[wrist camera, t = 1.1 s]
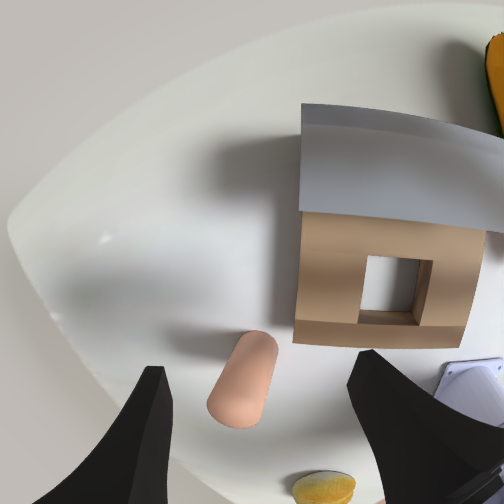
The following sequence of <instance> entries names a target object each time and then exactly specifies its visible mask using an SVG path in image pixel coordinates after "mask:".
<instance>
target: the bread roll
mask: <svg viewBox="0 0 504 504" xmlns="http://www.w3.org/2000/svg"><path fill="white" fill-rule="evenodd" d="M355 485H356V482H355V479H354V478H353V477H352V476H349V475H347V474H343V473H338V472H333V471H324V472H317V473H313V474H310V475H307V476H305V477H302V478H300V479H298V480H297V481H296V482H295V484H294V485H293V488H292V494H293V497H294V500H295V502H296V503H297V504H347V503H348V502H349V501H350V500H351V499H352V496H353V489H354V488H355Z"/></svg>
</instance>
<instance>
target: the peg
mask: <svg viewBox="0 0 504 504" xmlns="http://www.w3.org/2000/svg"><path fill="white" fill-rule="evenodd" d="M277 355H278V345H277V343H276V341H275V340H274V338H273V337H272V336H270V335H269V334H267V333H265V332H262V331H250V332H247V333H245V334H243V335H242V336H241V337H240V339H239V340H238V342H237V344H236V346H235V348H234V350H233V352H232V354H231V356H230V358H229V360H228V362H227V364H226V365H225V367H224V369H223V371H222V373H221V375H220V377H219V379H218V381H217V383H216V384H215V386H214V388H213V390H212V392H211V394H210V396H209V398H208V400H207V409H208V411H209V413H210V414H211V416H212V417H213V418H214V419H215V420H217V421H218V422H220V423H221V424H223V425H226V426H228V427H232V428H239V429H244V428H249V427H252V426H254V425H256V424H257V423H258V422H259V420H260V418H261V415H262V412H263V408H264V404H265V401H266V397H267V393H268V390H269V386H270V382H271V379H272V375H273V371H274V367H275V363H276V359H277Z"/></svg>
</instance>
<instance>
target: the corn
mask: <svg viewBox="0 0 504 504" xmlns="http://www.w3.org/2000/svg"><path fill="white" fill-rule="evenodd" d="M484 66H485V72H486V80H487V86H488V90H489V94H490V98H491V103H492V107H493V112H494V117H495V122H496V127H497V132H498V136H499V138H501V139H504V33H502V32H501V34H498V35H496V36H493V37H492V39H491V40H490V42H489V43H488V45H487V46H486V51H485V63H484Z"/></svg>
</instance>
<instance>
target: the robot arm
mask: <svg viewBox="0 0 504 504" xmlns="http://www.w3.org/2000/svg"><path fill="white" fill-rule="evenodd" d="M503 365H504V359H503V358H498V359H489V360H480V361H469V362H456V363H450V364H448V365H447V367H446V369H445V372H444V374H443V377H442V379H441V381H440V384H439V386H438V388H437V391H436V393H435V395H434V397H433V396H431V395H430V394H428V393H427V392H426V391H424V390H423V389H421V388H420V387H419V386H417V385H416V384H415V383H414V382H412V381H411V380H410V379H408V378H407V377H406V376H405V375H403V374H402V373H401V372H400V371H399V370H397V369H396V368H395V367H394V366H393V365H391V364H390V363H389V362H388V361H387V360H385V359H384V358H383V357H382V356H381V355H379V354H378V353H377V352H376V351H374V350H373V349H371V350H366V351H360V352H359V354H358V357H357V360H356V362H355V365H354V368H353V370H352V373H351V375H350V378H349V380H348V383H347V389H348V392H349V396H350V399H351V402H352V405H353V408H354V410H355V413H356V415H357V417H358V419H359V422H360V424H361V426H362V428H363V430H364V433H365V435H366V437H367V439H368V441H369V444H370V446H371V448H372V451H373V453H374V456H375V459H376V462H377V466H378V469H379V473H380V477H381V481H382V485H383V490H384V495H385V501H386V504H504V388H503V386H502V385H501V383H500V382H499V381H498V379H497V378H498V376H499V374H500V371H501V369H502V367H503ZM449 371H450V372H449ZM448 372H449V373H448ZM172 425H173V399H172V395H171V392H170V388H169V384H168V381H167V377H166V373H165V369H164V366H147V367H145V369H144V371H143V373H142V375H141V377H140V379H139V381H138V382H137V384H136V386H135V388H134V390H133V392H132V393H131V395H130V397H129V398H128V400H127V402H126V403H125V405H124V407H123V408H122V410H121V412H120V413H119V415H118V417H117V418H116V419H115V421H114V422H113V424H112V425H111V427H110V428H109V430H108V431H107V433H106V434H105V435H104V437H103V438H102V439H101V441H100V442H99V443H98V444H97V446H96V447H95V448H94V449H93V450H92V452H91V453H90V454H89V455H88V456H87V457H86V458H85V460H84V461H83V462H82V463H81V464H80V465H79V466H78V467H77V468H76V469H75V470H74V471H73V472H72V473H71V474H70V475H69V476H68V477H66V478H65V479H64V480H63V481H62V482H61V483H60V484H58V485H57V486H56V487H55V488H54V489H52V490H51V491H50V492H48V493H47V494H46V495H44V496H43V497H41V498H40V499H38V500H37V501H35V502H34V503H32V504H168V501H167V500H168V499H167V470H168V460H169V452H170V443H171V434H172Z"/></svg>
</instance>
